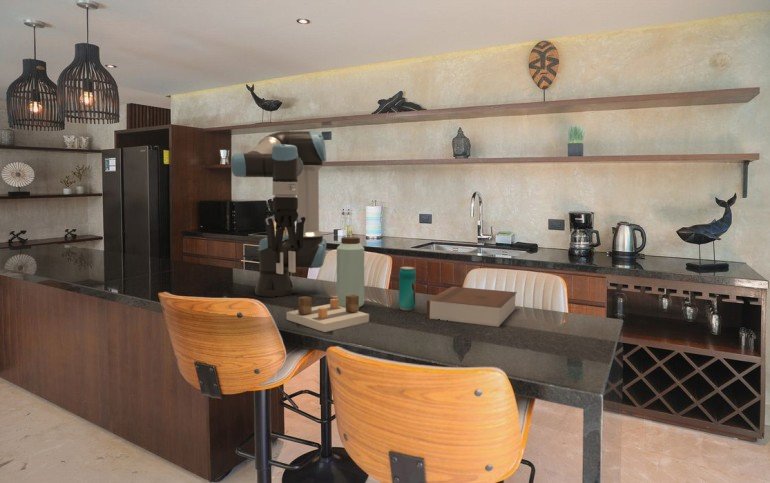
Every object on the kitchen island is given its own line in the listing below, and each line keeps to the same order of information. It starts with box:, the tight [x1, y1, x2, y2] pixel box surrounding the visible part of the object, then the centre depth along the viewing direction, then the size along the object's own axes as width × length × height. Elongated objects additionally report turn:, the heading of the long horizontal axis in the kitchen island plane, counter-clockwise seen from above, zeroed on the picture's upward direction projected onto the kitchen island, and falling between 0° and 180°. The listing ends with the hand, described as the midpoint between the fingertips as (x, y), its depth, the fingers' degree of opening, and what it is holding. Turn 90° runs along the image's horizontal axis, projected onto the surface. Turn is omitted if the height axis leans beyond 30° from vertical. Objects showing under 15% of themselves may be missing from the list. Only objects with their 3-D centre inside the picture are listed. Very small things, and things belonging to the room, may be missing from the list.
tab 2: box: [346, 295, 360, 312], centre depth 167 cm, size 3×3×5 cm
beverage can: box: [398, 266, 417, 312], centre depth 182 cm, size 6×6×15 cm
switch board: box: [286, 298, 370, 333], centre depth 165 cm, size 20×18×6 cm
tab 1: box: [297, 295, 313, 314], centre depth 164 cm, size 3×3×5 cm
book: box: [426, 286, 518, 327], centre depth 178 cm, size 24×28×6 cm
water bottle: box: [336, 236, 365, 308], centre depth 185 cm, size 10×10×25 cm
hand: (285, 272), depth 158 cm, fingers open, 4 cm apart
